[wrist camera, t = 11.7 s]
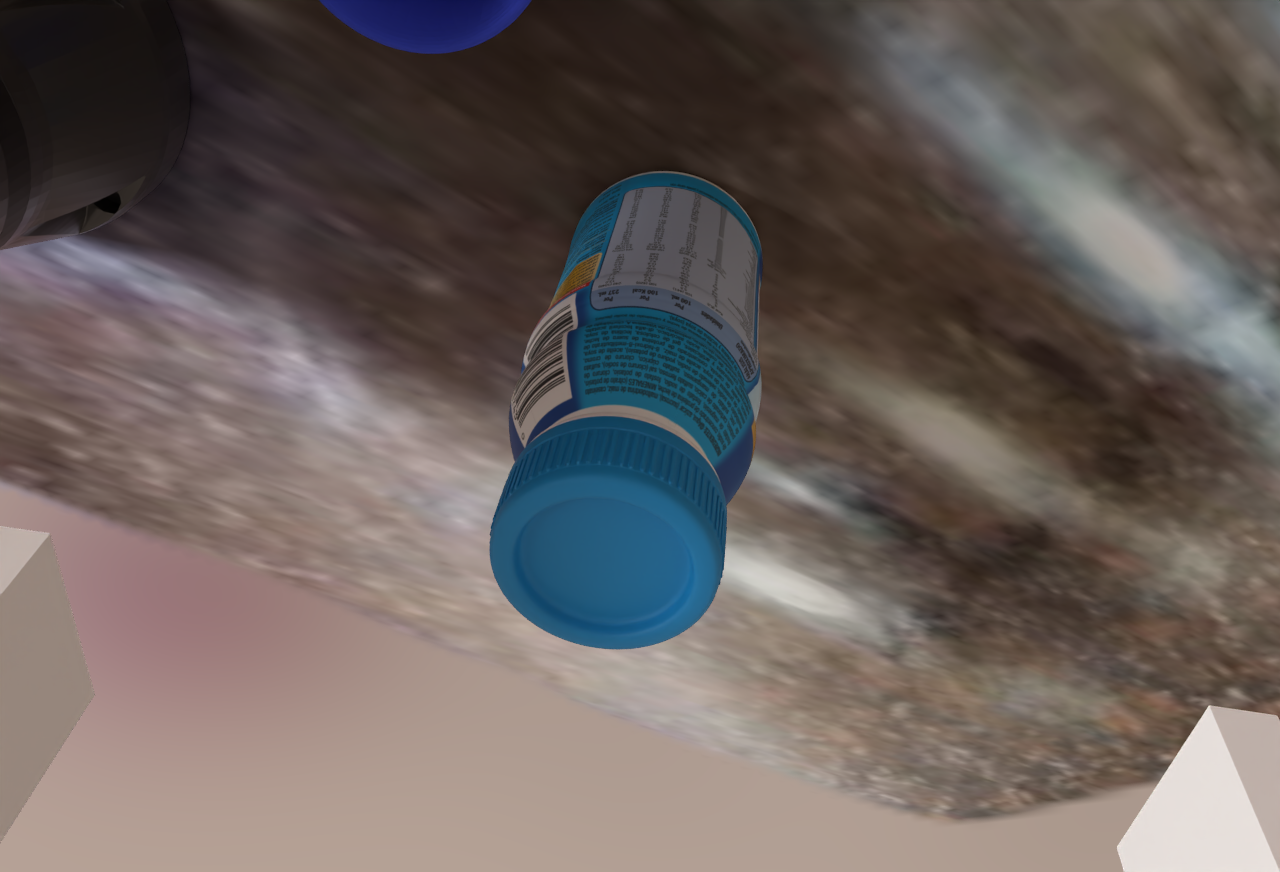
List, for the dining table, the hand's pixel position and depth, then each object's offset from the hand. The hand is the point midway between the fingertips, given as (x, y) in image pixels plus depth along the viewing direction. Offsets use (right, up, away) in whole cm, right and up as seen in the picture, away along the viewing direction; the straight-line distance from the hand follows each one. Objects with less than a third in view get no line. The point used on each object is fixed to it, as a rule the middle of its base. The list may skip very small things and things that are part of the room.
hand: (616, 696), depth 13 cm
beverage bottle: (+2, +11, +34) cm, 36 cm away
